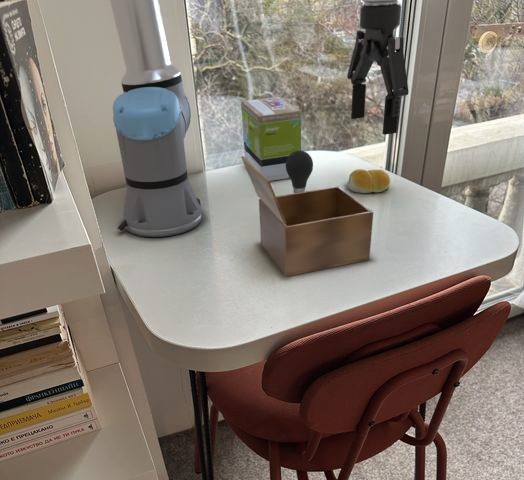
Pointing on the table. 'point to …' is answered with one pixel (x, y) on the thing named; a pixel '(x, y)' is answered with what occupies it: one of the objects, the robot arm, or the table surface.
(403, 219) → the table surface
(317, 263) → the carton
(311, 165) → the light bulb
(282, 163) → the tea box
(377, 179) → the bread roll
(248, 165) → the flap
